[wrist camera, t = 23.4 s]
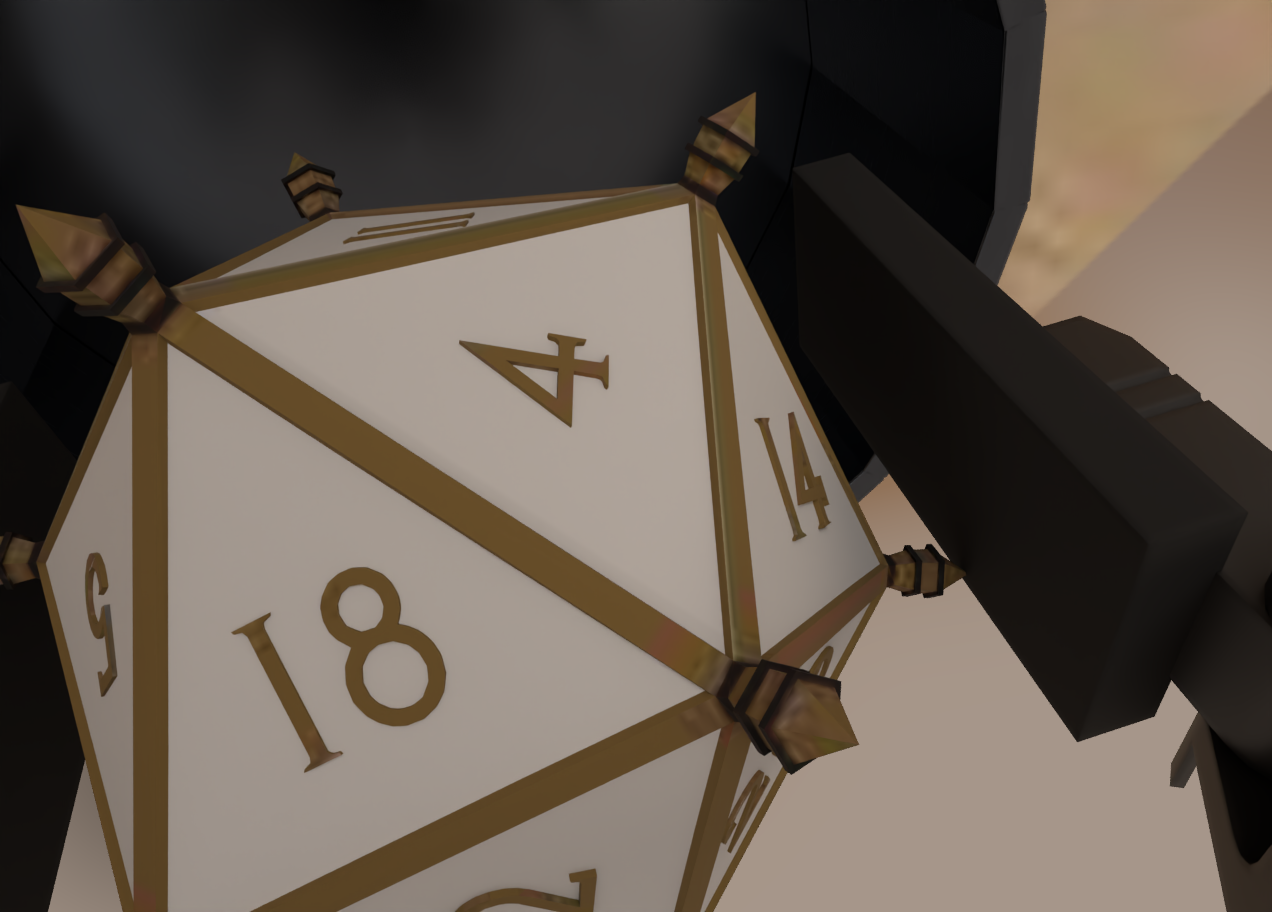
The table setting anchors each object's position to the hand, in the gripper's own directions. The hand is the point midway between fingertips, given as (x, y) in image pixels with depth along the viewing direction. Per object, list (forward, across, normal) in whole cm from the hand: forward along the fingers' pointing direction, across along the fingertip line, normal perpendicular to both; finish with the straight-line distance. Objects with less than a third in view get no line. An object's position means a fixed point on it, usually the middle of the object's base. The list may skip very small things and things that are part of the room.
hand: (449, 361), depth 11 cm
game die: (+1, 0, 0) cm, 1 cm away
